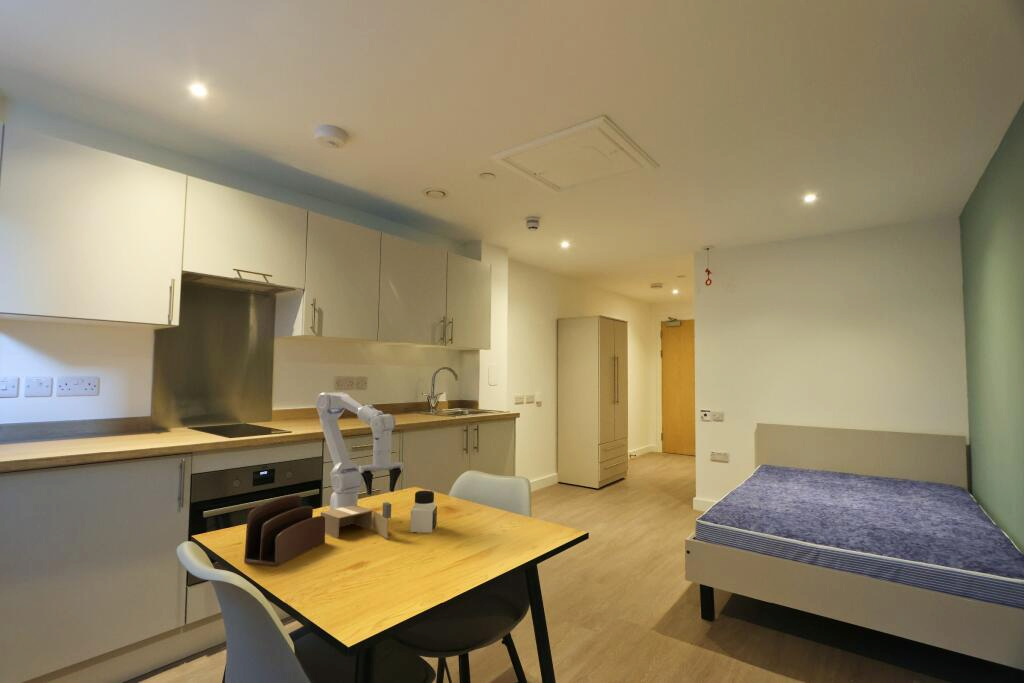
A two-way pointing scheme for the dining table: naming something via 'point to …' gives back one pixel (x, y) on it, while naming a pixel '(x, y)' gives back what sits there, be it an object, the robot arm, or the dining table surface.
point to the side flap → (382, 520)
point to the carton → (346, 518)
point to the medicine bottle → (423, 513)
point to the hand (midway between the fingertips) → (380, 492)
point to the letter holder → (281, 531)
